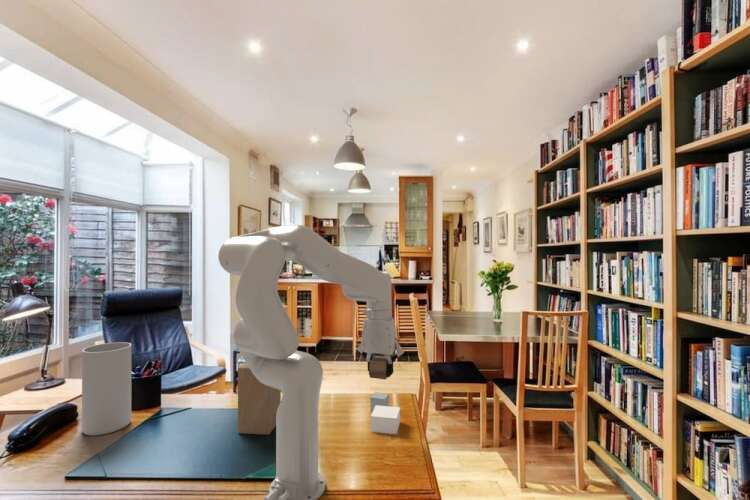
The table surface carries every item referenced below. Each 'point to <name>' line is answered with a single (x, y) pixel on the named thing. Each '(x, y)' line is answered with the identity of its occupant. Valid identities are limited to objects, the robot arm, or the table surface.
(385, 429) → the off-white block
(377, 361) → the walnut cube
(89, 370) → the cylinder vase
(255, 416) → the wooden block
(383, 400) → the slate-grey cube
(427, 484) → the table surface
